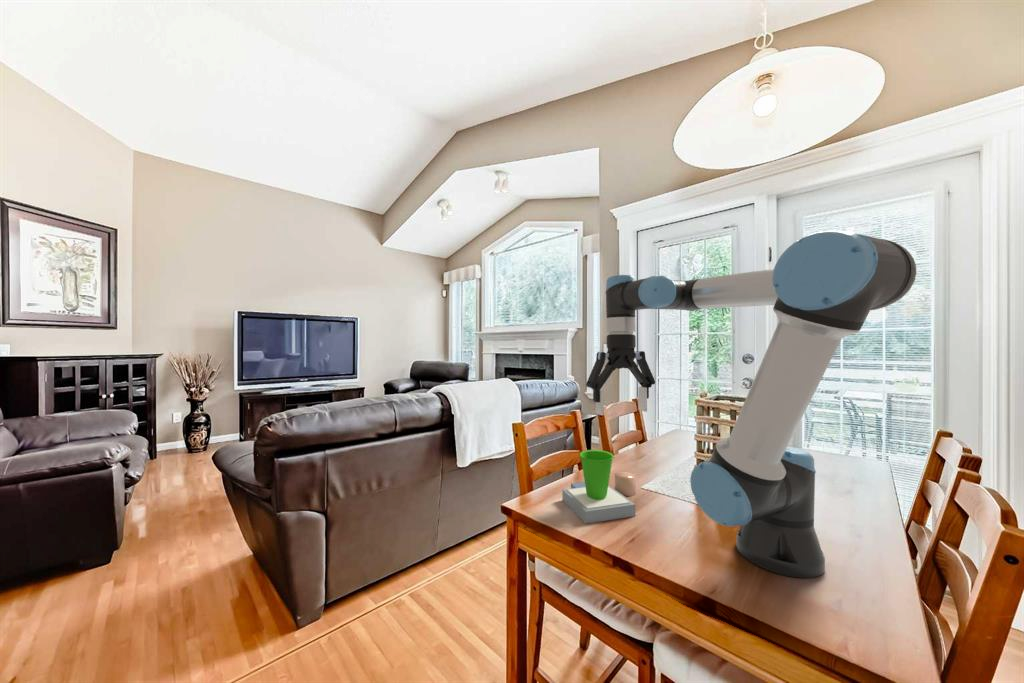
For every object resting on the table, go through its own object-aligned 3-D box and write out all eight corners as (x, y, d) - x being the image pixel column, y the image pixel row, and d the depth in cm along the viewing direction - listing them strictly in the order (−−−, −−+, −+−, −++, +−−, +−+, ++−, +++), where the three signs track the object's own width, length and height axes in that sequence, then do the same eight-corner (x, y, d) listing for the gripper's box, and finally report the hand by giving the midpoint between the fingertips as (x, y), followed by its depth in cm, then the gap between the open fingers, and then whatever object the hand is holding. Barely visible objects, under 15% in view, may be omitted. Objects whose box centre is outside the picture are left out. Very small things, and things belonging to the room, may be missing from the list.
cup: (609, 489, 107) (609, 449, 107) (617, 503, 98) (617, 460, 98) (577, 488, 108) (577, 449, 107) (582, 503, 99) (582, 460, 98)
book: (608, 495, 112) (608, 487, 112) (580, 499, 109) (580, 491, 109) (597, 487, 118) (597, 480, 118) (570, 491, 115) (570, 483, 115)
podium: (635, 515, 98) (635, 503, 98) (585, 523, 94) (585, 510, 94) (606, 494, 112) (606, 483, 112) (562, 500, 108) (562, 488, 108)
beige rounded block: (640, 494, 111) (640, 477, 111) (621, 497, 110) (621, 480, 110) (628, 487, 117) (628, 470, 117) (610, 489, 116) (610, 472, 115)
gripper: (649, 333, 112) (650, 407, 112) (572, 334, 103) (573, 413, 103) (668, 333, 104) (669, 411, 104) (587, 333, 96) (588, 418, 96)
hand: (621, 412), depth 104 cm, fingers open, 13 cm apart
